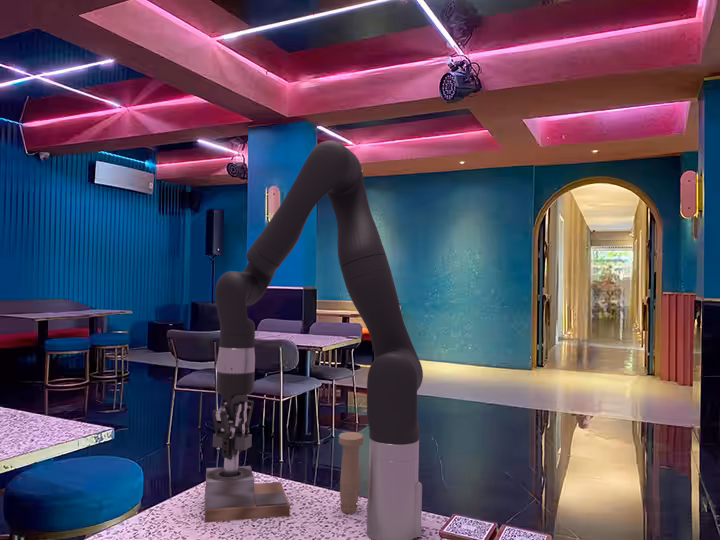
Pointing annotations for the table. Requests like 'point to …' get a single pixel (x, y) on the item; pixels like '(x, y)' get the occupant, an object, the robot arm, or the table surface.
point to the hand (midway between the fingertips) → (232, 454)
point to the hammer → (240, 443)
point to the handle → (350, 470)
